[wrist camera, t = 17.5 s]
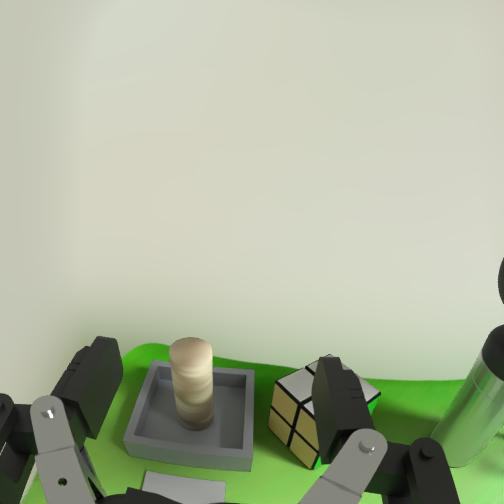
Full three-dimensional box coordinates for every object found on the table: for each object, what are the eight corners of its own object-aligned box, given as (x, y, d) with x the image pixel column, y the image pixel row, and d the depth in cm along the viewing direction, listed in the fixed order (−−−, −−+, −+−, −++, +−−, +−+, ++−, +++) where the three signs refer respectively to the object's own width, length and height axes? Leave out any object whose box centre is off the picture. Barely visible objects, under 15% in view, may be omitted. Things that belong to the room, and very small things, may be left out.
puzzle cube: (316, 398, 47) (330, 351, 43) (361, 435, 39) (383, 391, 35) (265, 425, 42) (273, 379, 38) (310, 472, 34) (329, 431, 30)
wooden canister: (215, 406, 43) (214, 339, 38) (211, 433, 38) (209, 367, 33) (181, 402, 43) (174, 335, 38) (175, 428, 38) (164, 362, 33)
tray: (252, 387, 49) (254, 369, 47) (250, 471, 34) (252, 457, 32) (155, 377, 49) (152, 359, 47) (129, 455, 34) (122, 440, 32)
